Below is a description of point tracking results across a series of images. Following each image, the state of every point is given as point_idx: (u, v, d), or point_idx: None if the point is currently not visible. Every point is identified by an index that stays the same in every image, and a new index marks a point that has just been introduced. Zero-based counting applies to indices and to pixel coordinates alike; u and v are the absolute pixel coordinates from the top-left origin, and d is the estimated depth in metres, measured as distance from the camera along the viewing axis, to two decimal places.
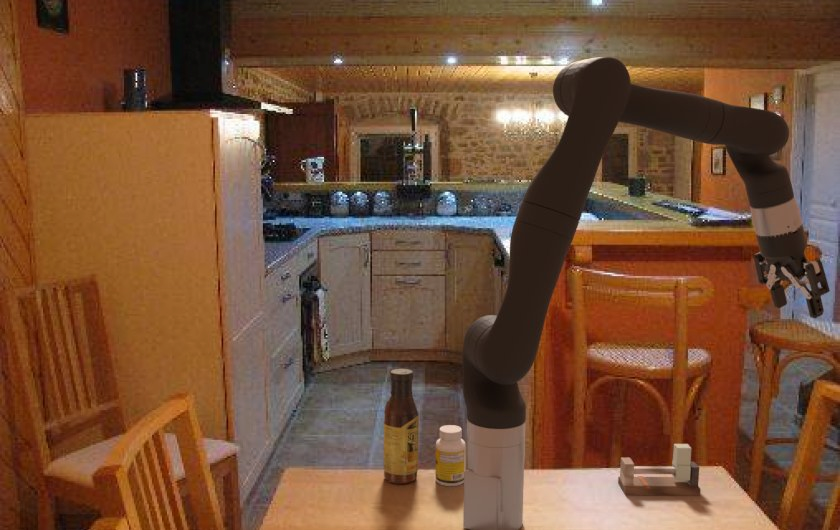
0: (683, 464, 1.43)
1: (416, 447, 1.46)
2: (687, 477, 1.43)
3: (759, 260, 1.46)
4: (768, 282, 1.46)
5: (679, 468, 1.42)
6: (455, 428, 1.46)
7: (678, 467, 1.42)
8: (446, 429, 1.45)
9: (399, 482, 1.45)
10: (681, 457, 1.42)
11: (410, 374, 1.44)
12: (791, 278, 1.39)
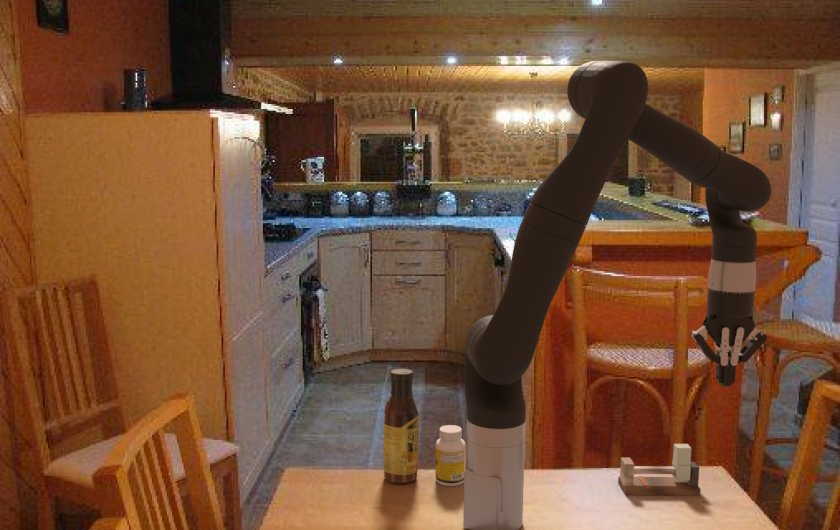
0: (683, 464, 1.43)
1: (416, 447, 1.46)
2: (687, 477, 1.43)
3: (702, 337, 1.39)
4: (725, 358, 1.39)
5: (679, 468, 1.42)
6: (455, 428, 1.46)
7: (678, 467, 1.42)
8: (446, 429, 1.45)
9: (399, 482, 1.45)
10: (681, 457, 1.42)
11: (410, 374, 1.44)
12: (738, 341, 1.38)
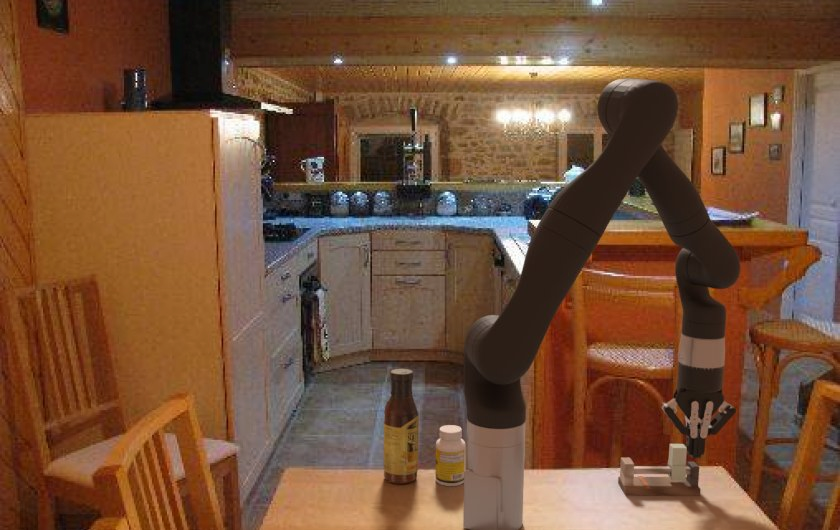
0: (679, 464, 1.43)
1: (416, 447, 1.46)
2: (683, 477, 1.43)
3: (672, 410, 1.41)
4: (695, 430, 1.41)
5: (675, 468, 1.42)
6: (455, 428, 1.46)
7: (674, 467, 1.42)
8: (446, 429, 1.45)
9: (399, 482, 1.45)
10: (676, 457, 1.42)
11: (410, 374, 1.44)
12: (707, 414, 1.40)
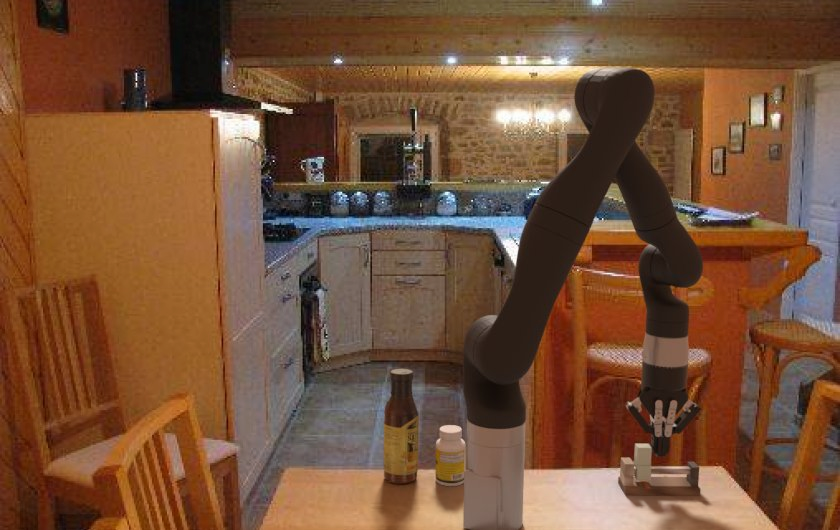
0: (644, 464, 1.42)
1: (416, 447, 1.46)
2: (648, 477, 1.43)
3: (636, 409, 1.41)
4: (659, 429, 1.41)
5: (640, 468, 1.42)
6: (455, 428, 1.46)
7: (639, 467, 1.42)
8: (446, 429, 1.45)
9: (399, 482, 1.45)
10: (641, 457, 1.42)
11: (410, 374, 1.44)
12: (671, 413, 1.40)
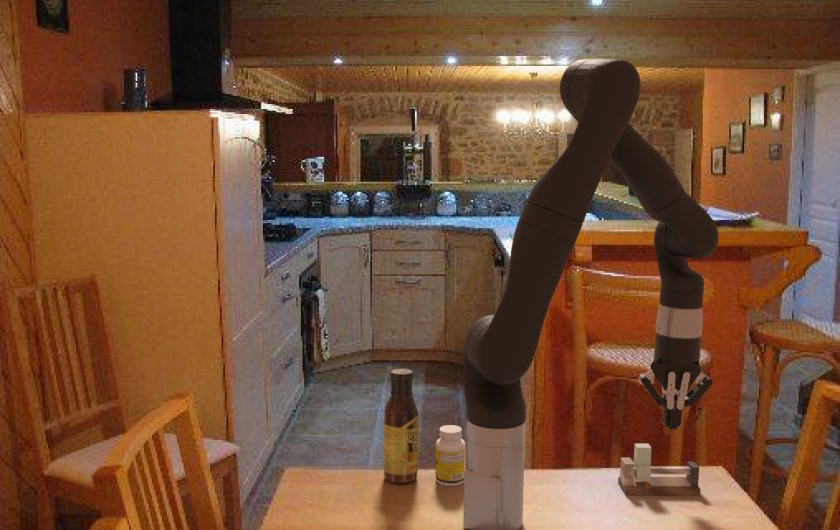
0: (643, 464, 1.42)
1: (416, 447, 1.46)
2: (647, 477, 1.43)
3: (649, 380, 1.40)
4: (671, 401, 1.41)
5: (639, 468, 1.42)
6: (455, 428, 1.46)
7: (638, 467, 1.42)
8: (446, 429, 1.45)
9: (399, 482, 1.45)
10: (641, 457, 1.42)
11: (410, 374, 1.44)
12: (684, 385, 1.40)
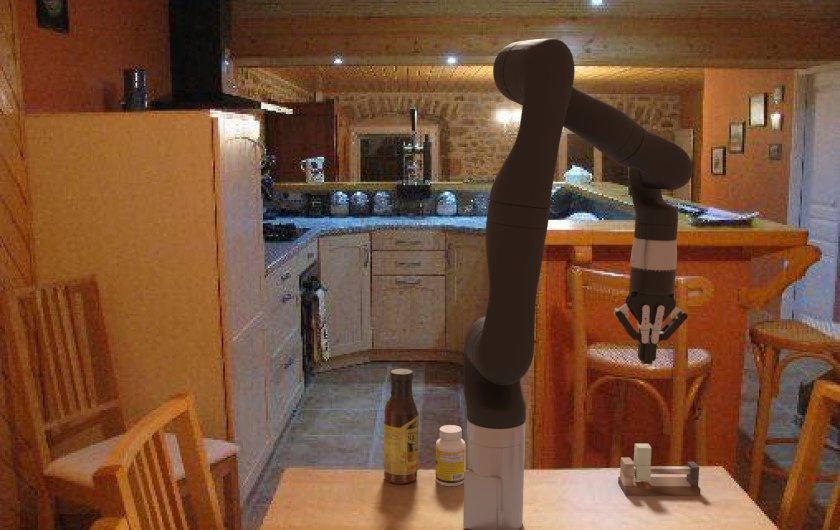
0: (643, 464, 1.42)
1: (416, 447, 1.46)
2: (647, 477, 1.43)
3: (623, 314, 1.40)
4: (646, 335, 1.41)
5: (639, 468, 1.42)
6: (455, 428, 1.46)
7: (638, 467, 1.42)
8: (446, 429, 1.45)
9: (399, 482, 1.45)
10: (641, 457, 1.42)
11: (410, 374, 1.44)
12: (658, 319, 1.40)
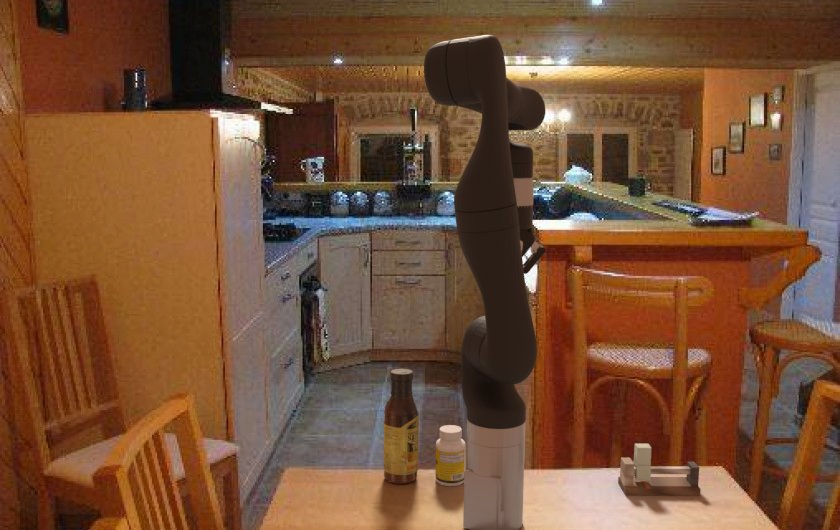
0: (643, 464, 1.42)
1: (416, 447, 1.46)
2: (647, 477, 1.43)
3: None
4: None
5: (639, 468, 1.42)
6: (455, 428, 1.46)
7: (638, 467, 1.42)
8: (446, 429, 1.45)
9: (399, 482, 1.45)
10: (641, 457, 1.42)
11: (410, 374, 1.44)
12: None
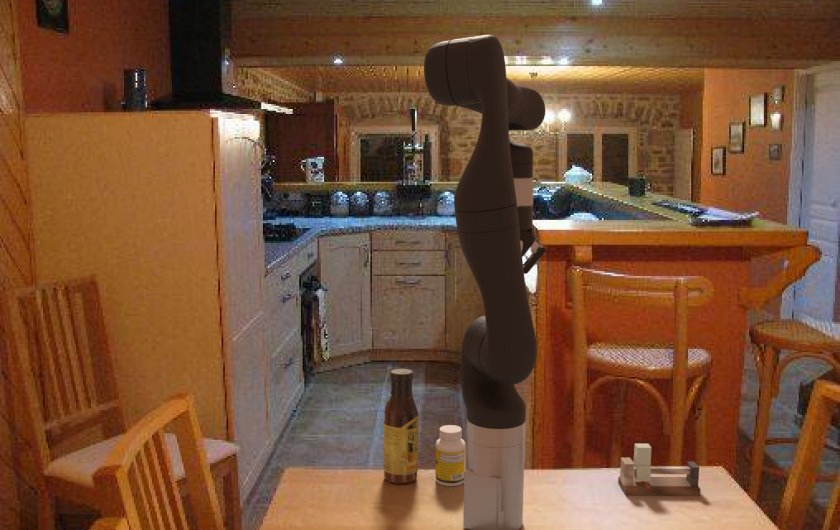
0: (643, 464, 1.42)
1: (416, 447, 1.46)
2: (647, 477, 1.43)
3: None
4: None
5: (639, 468, 1.42)
6: (455, 428, 1.46)
7: (638, 467, 1.42)
8: (446, 429, 1.45)
9: (399, 482, 1.45)
10: (641, 457, 1.42)
11: (410, 374, 1.44)
12: None
